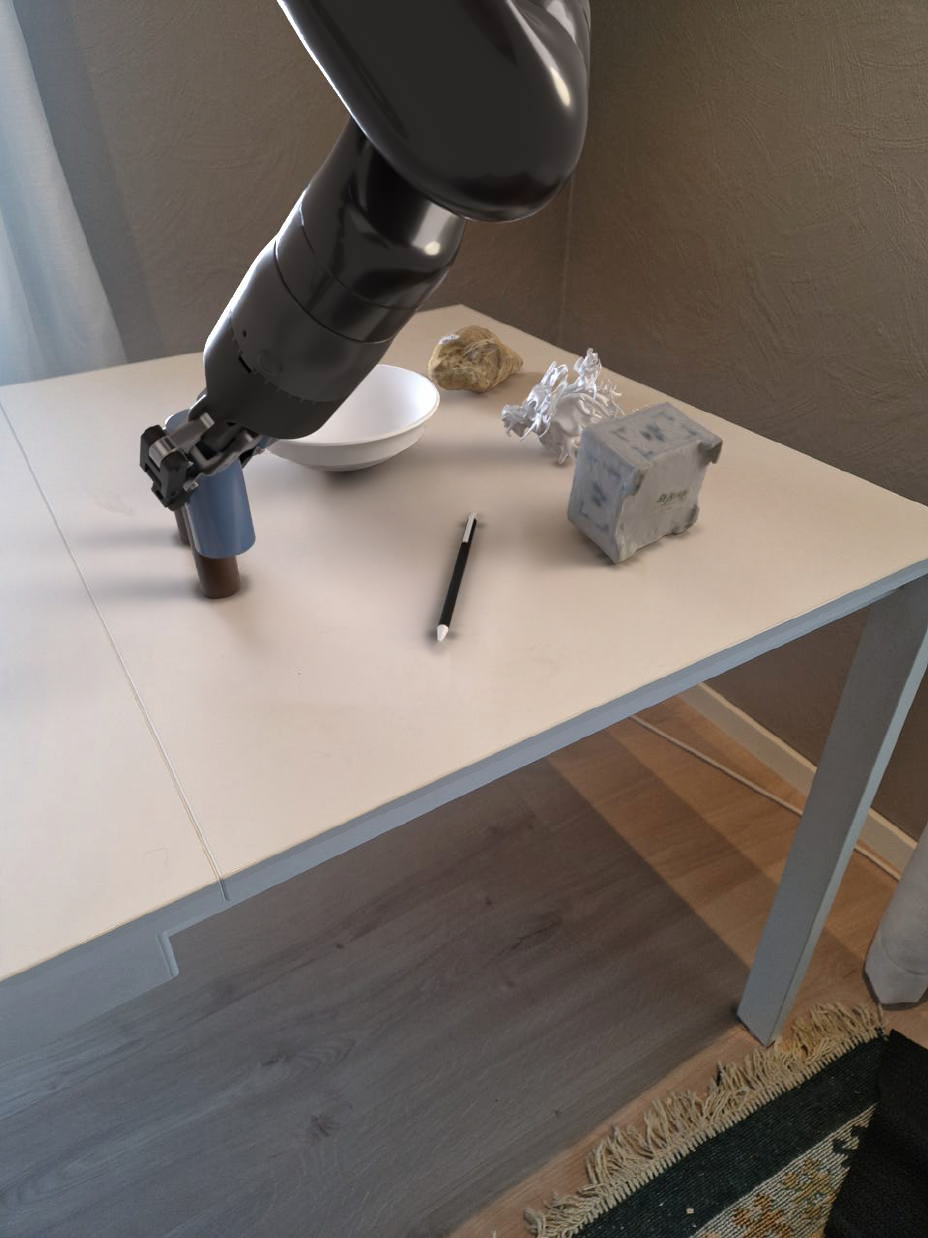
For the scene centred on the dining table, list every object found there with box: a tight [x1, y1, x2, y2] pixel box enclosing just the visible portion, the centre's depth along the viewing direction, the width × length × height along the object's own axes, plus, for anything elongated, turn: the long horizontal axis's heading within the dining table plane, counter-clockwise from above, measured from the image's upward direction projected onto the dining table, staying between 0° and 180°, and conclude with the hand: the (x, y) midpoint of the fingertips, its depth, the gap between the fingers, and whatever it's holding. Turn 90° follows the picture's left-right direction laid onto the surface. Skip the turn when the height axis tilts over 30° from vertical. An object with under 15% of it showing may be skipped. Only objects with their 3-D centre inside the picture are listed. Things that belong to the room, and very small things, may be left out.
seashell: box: [427, 324, 524, 394], centre depth 102 cm, size 14×8×8 cm
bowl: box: [265, 363, 441, 473], centre depth 88 cm, size 20×20×6 cm
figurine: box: [500, 347, 649, 466], centre depth 87 cm, size 13×15×12 cm
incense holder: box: [566, 401, 724, 565], centre depth 74 cm, size 10×8×10 cm
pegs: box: [173, 504, 242, 599], centre depth 72 cm, size 3×12×9 cm, turn 25°
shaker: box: [164, 407, 256, 559], centre depth 56 cm, size 4×4×9 cm
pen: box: [436, 510, 478, 645], centre depth 71 cm, size 1×19×1 cm, turn 172°
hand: (193, 482), depth 57 cm, fingers closed on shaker, 4 cm apart
